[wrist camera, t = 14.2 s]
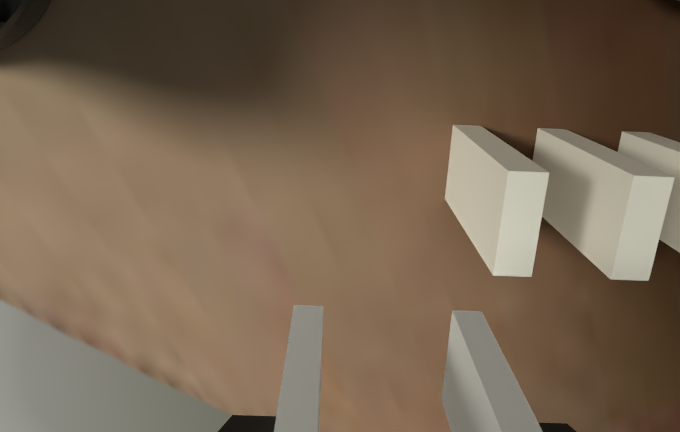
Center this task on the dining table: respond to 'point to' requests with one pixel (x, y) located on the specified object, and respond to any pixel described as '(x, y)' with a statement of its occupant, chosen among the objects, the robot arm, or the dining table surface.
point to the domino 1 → (496, 199)
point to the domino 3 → (665, 158)
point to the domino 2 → (603, 202)
